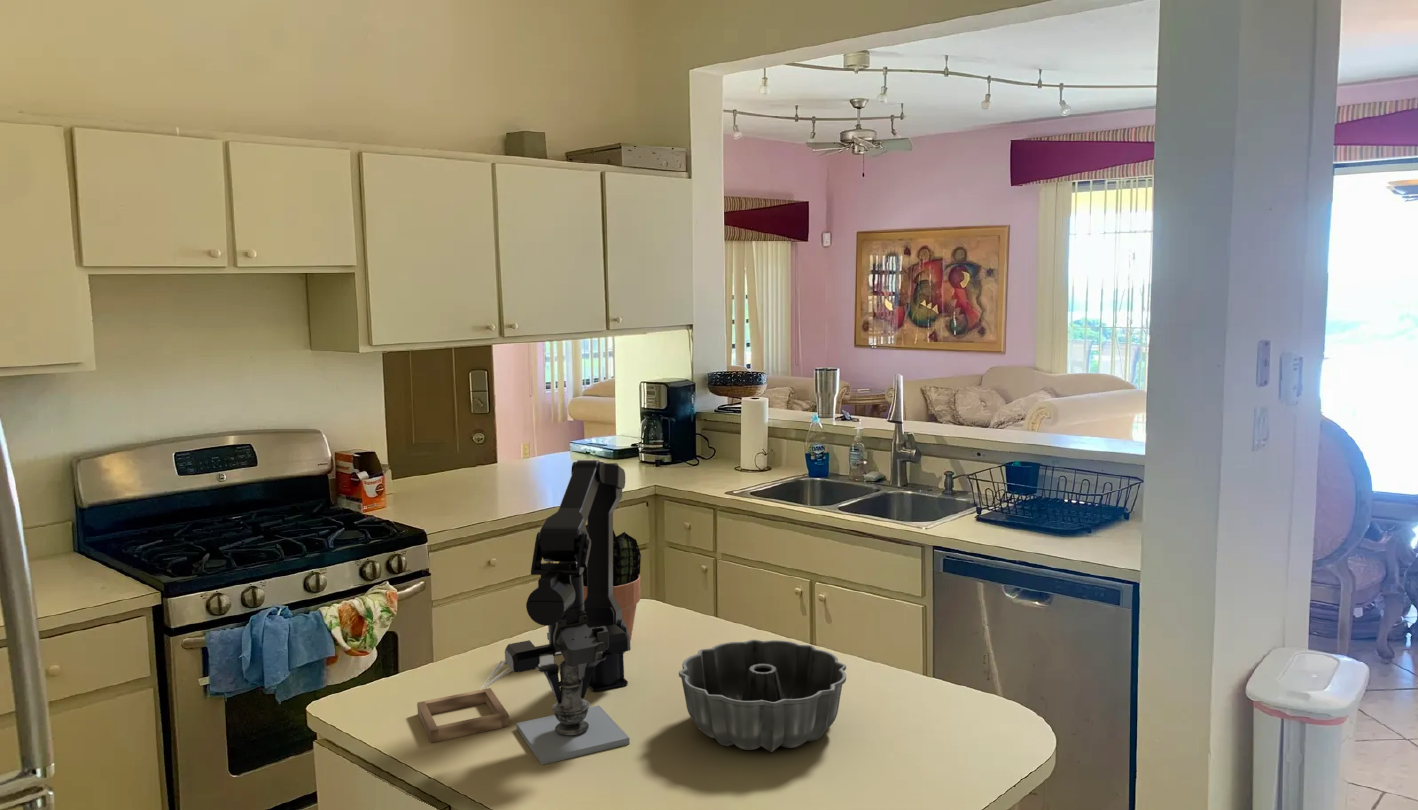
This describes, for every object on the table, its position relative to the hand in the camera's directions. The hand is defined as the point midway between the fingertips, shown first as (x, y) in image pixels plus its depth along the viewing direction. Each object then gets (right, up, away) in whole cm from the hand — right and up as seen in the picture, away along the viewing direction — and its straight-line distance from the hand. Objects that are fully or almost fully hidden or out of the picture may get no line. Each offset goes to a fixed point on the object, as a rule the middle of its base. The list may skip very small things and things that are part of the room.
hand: (570, 700), depth 157 cm
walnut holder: (-19, -6, +8) cm, 21 cm away
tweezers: (-18, -5, +25) cm, 31 cm away
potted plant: (+2, -1, +43) cm, 43 cm away
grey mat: (0, -6, +1) cm, 6 cm away
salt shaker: (0, -5, 0) cm, 5 cm away
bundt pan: (+31, -5, +2) cm, 31 cm away
